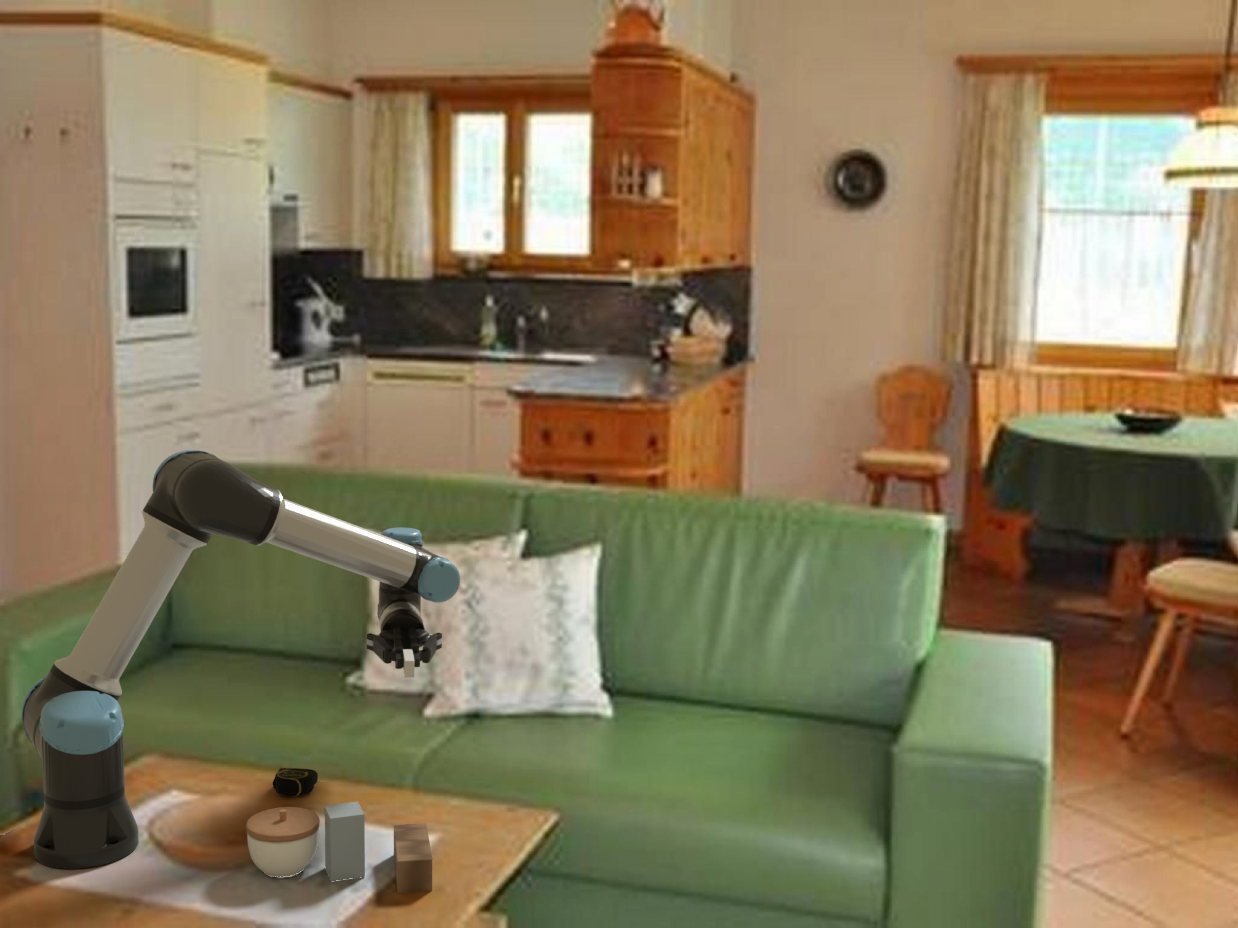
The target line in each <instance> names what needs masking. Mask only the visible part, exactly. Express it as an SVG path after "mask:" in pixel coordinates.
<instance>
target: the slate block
mask: <svg viewBox="0 0 1238 928" xmlns="http://www.w3.org/2000/svg"><path fill="white" fill-rule="evenodd" d="M365 830H366V828H365V813H364V810H363V809H362V807H361V805H360V802H359V801H358V800H357V801H351V802H343V803H334V804H327V805H324V861H325V862H324V863H325V864H324V867H326V869H325V871H326V870H327V871H326V873H327V872H328V873H327V875H328V874H329V876H330V878H329V880H330V879H331V881H336V880H343V879H349V878H353V879H352V880H355V879H354V878H359V879H361V878H360V877H364V876H365V877H366V873H365V872H366V863H365V862H366V856H365V855H366V852H365V850H366V844H365V842H366V841H365V840H366V839H365V834H366V833H365ZM329 876H328V877H329ZM331 881H330V882H331Z"/></svg>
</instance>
